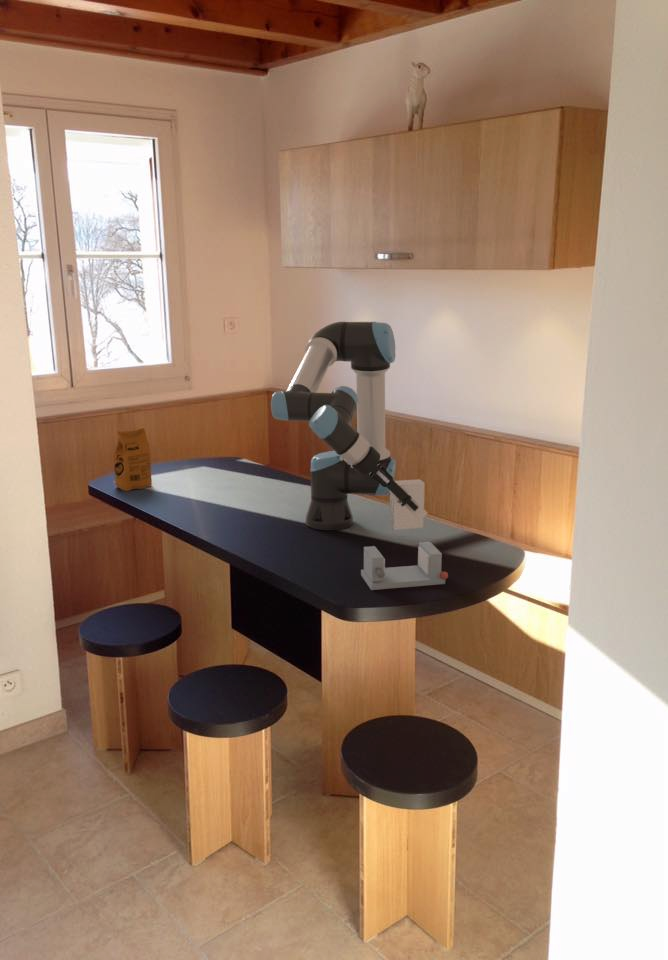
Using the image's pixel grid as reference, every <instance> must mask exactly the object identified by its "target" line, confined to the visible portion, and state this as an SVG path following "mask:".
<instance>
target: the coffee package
mask: <svg viewBox="0 0 668 960" xmlns="http://www.w3.org/2000/svg"><path fill="white" fill-rule="evenodd" d="M117 435H118V438H117V439H118V440H117V444H116V447H115V451H114V459H113V461H114V463H113V464H114V467H113V468H114V469H113V470H114V483H115V485H116V488H118V489H120V490H122V491H124V492H129V491H130V492H131V491H132V490H142V489H146V488H148V487H152V486H153V484H152V483H153V482H152V480H153V479H152V465H151V463H152V462H151V461H152V460H151V450H150V445H149V444H150V443H149V440H148V438H147V432H146V430H145V427H144V426H141V427H139V428H137V429H133V430H117Z"/></svg>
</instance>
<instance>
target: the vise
mask: <svg viewBox="0 0 668 960" xmlns="http://www.w3.org/2000/svg"><path fill="white" fill-rule="evenodd" d="M417 549H418V550H417V564H416V565H406V566H405V565H403V566H393V567H392V566H391V567H385V578H383V581H378V582H372V581H371V580H370V578H369V577H368V575H367V574H366V572H365V571H364V569H360V576H361V577H362V579H363V580H364V582H365V583H366V584H367V586H368V587H369V589H370V590H371V591H375V590H377V591H378V590H388V589H389V590H390V589H400V588H412V587H413V588H414V587H423V586H426V587H427V586H434V585H435V586H436V585H437V586H438V585H446V580H447V579H448V578H449V574H448V572H447V571H442V558H443V557H442V556H443V554H442V552H441V551H440V550H439V549H438V548H437V547H436V546H435V545H434V544H433V543H432V542H431V541H430V540H429V541H419V542H418V547H417Z"/></svg>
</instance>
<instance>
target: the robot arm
mask: <svg viewBox="0 0 668 960" xmlns="http://www.w3.org/2000/svg"><path fill="white" fill-rule="evenodd" d="M395 340H396V339H395V335H394V331H393V328H392V326H391V325H390V324H388V323H387V322H379V321H337V322H333V323H331V324H330V323H329V324H327V325H325V326H324V327H323V328H320V329H319V330H318V331H317V332H315V333H314V334H313V335H311V337H310V338H309V340H308V342H307V343H306V345H305V348H304V356H303V358H302V361H301V362H300V364H299V366H298V368H297V369H296V372H295V374H294V375H293V378H292V380H291V381H290V383H289V385H288V387H287V388H286V390H285V391H284V390H281V391H275V392H274V393H273V394H272V396H271V401H270V411H271V415H272V417H273V418H274V419H275V420H278V421H279V420H280V421H286V422H289V421H291V422H292V421H294V422H295V421H297V422H308V426H309V428H310V429H311V430H312V431H313V433H315V434H316V436H317V437H318V438H319V439H321V440H322V441H323V442H324V443H325V444H326V445H328V446H329V447H330V448H331V449H332V450H330V451H323V452H320V453H318V454H316V455H313V457H312V458H311V460H310V504H309V505H308V508H307V509H308V510H307V512H306V515H305V525H306V526H307V527H308V526H309V528H310V527H311V529H313V530H319V531H340V530H345V529H348V528H351V527H352V525H353V524H354V517H353V516H354V515H353V514H352V513H353V512H352V510H351V507H350V504H349V500H348V495H350V494H351V495H361V496H363V495H364V496H374V497H376V496H388V495H390V491H391V492H392V493H393V494H394V495H395V496H396V497H397V498H398V499H399V500H401V501H402V504H401V505H402V506H404V505H405V506H406V507H407V508H408V509H409V510H410V511H411V512H412V513H413V514H414V515H415V516H416V517H417V518H419V519H420V520H422V519H423V517H424V518H425V517H426V516H427V515H428V512H427V510H426V509H425V508H424V509H423V508H422V507H421V506H420V505H419V504H418V503H417V502H416V501H415V500H414V499H413V498H412V497H411V496H410V495H408V494H407V493H406V492H405V491H404V490H403V489H402V488H401V487H400V486H399V485H398V484H397V483H396V482H395V481H396V480H394V479H395V474H396V467H397V463H396V459H394V458H391V452H390V450H388V448H386V372H388V370H389V369H390V368H391V364H393V363H394V362H395V361H396V341H395ZM336 362H350V369H351V371H353V372H354V373H355V377H356V379H355V381H356V382H355V383H356V384H355V385H356V390H354V389H353V388H351V387H348V386H346V385H342V386H341V385H339V386H337V387H335V388H334V389H333V390H332V391H331V392H318V390H319V387H320V386H321V384H322V381H323V379H324V378H325V375H326V373H327V371H328V369H329V368H330V366H333V365H334V364H335V363H336ZM355 415H356V419H357V421H356V423H357V424H356V426H357V427H356V428H357V429H355V428H354V427H353V426H352V423H353V420H354V418H355Z"/></svg>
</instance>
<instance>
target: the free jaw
mask: <svg viewBox="0 0 668 960" xmlns="http://www.w3.org/2000/svg"><path fill="white" fill-rule="evenodd" d="M385 568H386V559H385V557H384V556H383V555H382V553H381V552H380V550H378V548H377V547H376V546H375V545H373V546H372V545H371V546H363V570H364V571H365V572H366V574H367V575H368V577H369V578H370V580H371V581H372V582H378V581H383V578H385Z"/></svg>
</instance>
